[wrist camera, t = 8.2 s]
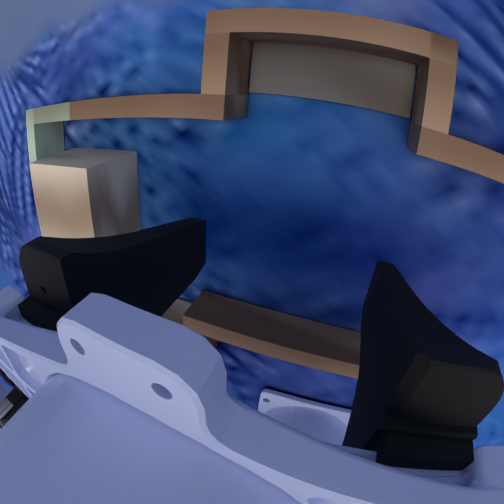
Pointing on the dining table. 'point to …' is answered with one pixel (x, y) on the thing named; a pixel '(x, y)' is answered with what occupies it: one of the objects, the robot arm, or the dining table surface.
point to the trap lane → (307, 86)
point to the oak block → (87, 193)
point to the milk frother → (11, 401)
